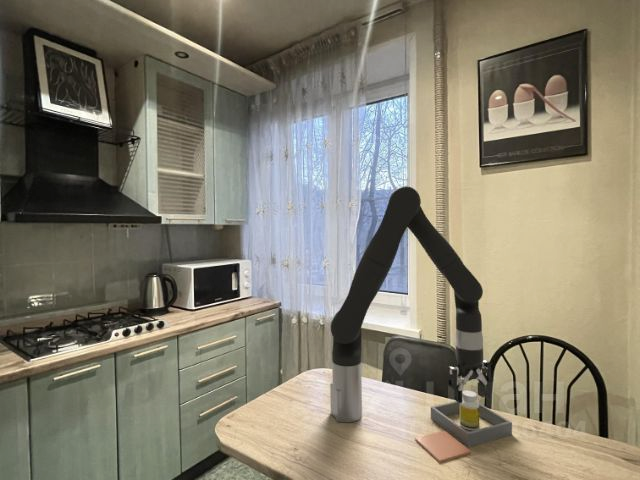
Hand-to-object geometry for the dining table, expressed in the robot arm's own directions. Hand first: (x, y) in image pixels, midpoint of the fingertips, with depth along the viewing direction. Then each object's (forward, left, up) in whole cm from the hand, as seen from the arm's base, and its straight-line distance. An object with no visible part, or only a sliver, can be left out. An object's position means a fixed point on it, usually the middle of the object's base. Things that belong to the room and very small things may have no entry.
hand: (470, 398), depth 102 cm
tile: (-14, -5, -8) cm, 17 cm away
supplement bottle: (0, 0, -8) cm, 8 cm away
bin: (0, 0, -8) cm, 8 cm away
